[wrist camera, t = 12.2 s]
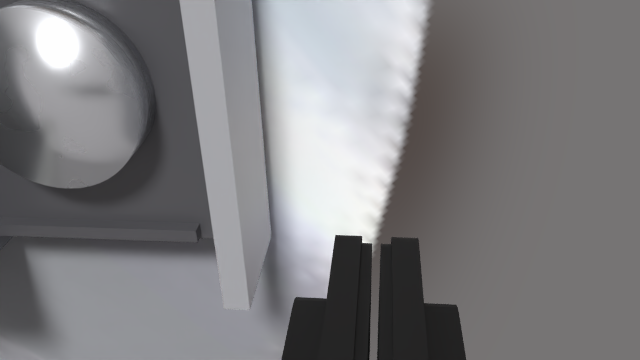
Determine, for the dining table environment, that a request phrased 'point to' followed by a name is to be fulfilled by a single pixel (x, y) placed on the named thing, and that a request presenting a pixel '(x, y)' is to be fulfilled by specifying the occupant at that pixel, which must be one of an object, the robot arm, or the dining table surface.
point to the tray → (175, 147)
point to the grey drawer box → (4, 240)
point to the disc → (69, 94)
